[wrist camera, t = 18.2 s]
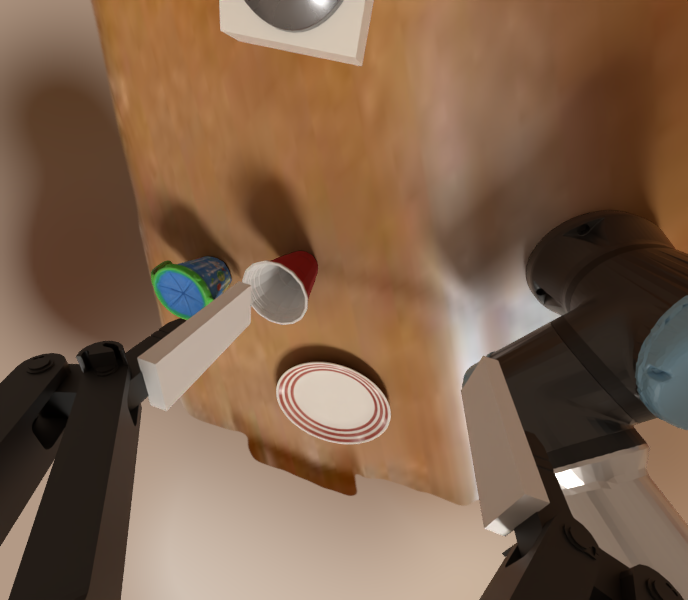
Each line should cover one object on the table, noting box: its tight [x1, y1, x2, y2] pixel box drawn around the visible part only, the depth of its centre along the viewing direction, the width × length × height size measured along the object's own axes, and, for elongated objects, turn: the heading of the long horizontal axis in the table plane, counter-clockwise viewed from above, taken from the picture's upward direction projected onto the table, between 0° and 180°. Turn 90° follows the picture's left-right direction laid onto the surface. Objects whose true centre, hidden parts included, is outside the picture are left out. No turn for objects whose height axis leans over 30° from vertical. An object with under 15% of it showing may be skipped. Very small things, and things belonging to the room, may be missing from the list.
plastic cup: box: [242, 251, 318, 325], centre depth 45 cm, size 11×11×12 cm
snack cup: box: [151, 256, 231, 320], centre depth 52 cm, size 16×10×10 cm
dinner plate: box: [276, 362, 391, 444], centre depth 65 cm, size 27×27×3 cm
